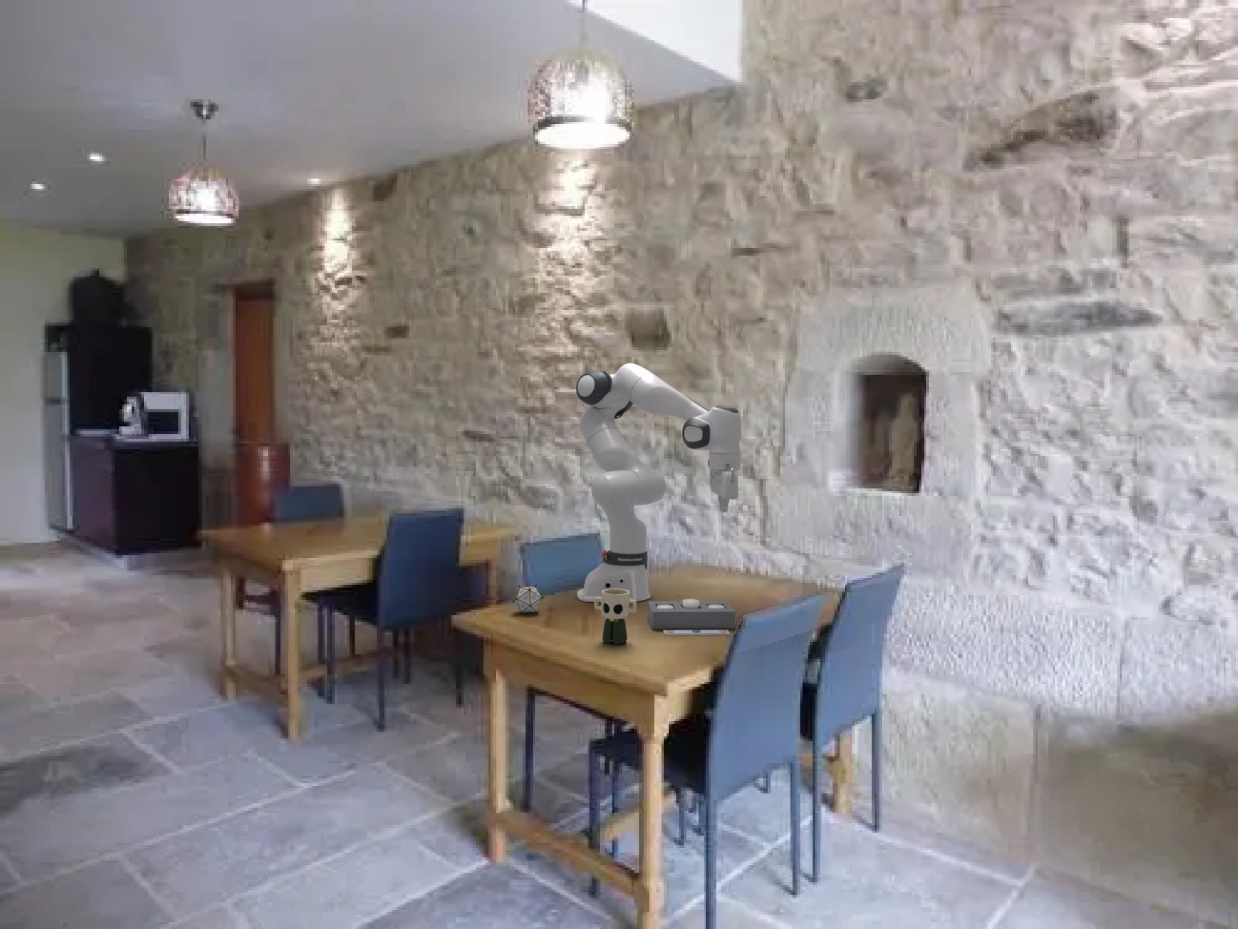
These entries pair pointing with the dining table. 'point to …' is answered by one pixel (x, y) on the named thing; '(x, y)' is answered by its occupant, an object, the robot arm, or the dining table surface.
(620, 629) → the character mug
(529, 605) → the white spiked icosahedron
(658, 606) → the left button
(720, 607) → the right button
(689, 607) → the middle button
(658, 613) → the button box
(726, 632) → the pattern card
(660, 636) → the dining table surface
